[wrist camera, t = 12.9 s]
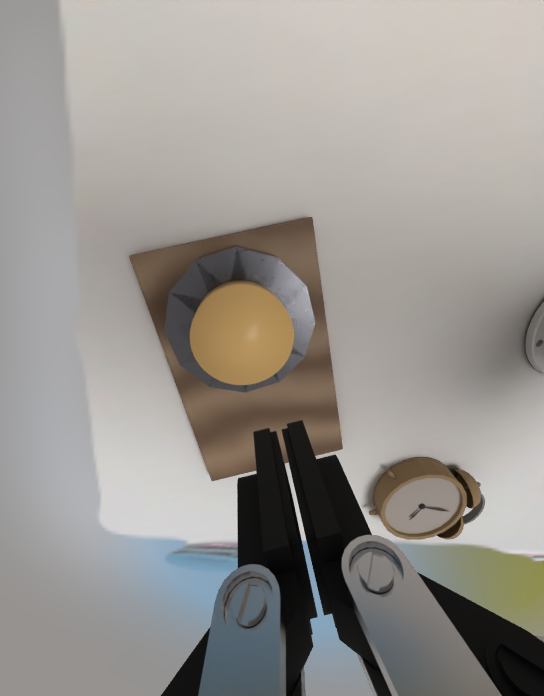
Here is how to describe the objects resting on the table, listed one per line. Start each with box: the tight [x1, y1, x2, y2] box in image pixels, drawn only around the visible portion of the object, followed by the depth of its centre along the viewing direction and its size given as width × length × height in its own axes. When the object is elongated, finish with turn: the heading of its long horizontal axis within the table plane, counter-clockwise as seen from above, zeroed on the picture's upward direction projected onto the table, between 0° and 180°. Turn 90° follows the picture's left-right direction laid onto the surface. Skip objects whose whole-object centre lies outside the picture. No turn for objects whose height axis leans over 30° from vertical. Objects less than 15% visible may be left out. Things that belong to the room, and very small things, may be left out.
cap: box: [190, 280, 294, 385], centre depth 25 cm, size 8×8×7 cm
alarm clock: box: [369, 458, 485, 540], centre depth 41 cm, size 11×5×15 cm
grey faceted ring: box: [164, 245, 315, 393], centre depth 27 cm, size 12×12×4 cm
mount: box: [129, 217, 343, 481], centre depth 31 cm, size 26×16×1 cm, turn 11°
